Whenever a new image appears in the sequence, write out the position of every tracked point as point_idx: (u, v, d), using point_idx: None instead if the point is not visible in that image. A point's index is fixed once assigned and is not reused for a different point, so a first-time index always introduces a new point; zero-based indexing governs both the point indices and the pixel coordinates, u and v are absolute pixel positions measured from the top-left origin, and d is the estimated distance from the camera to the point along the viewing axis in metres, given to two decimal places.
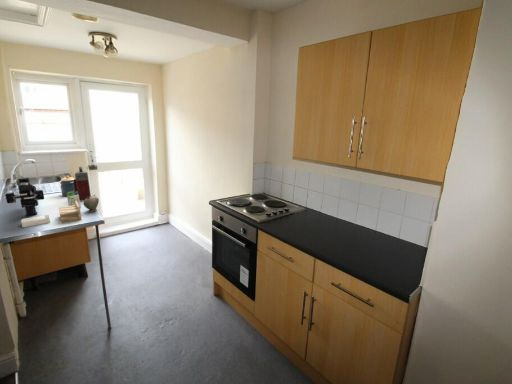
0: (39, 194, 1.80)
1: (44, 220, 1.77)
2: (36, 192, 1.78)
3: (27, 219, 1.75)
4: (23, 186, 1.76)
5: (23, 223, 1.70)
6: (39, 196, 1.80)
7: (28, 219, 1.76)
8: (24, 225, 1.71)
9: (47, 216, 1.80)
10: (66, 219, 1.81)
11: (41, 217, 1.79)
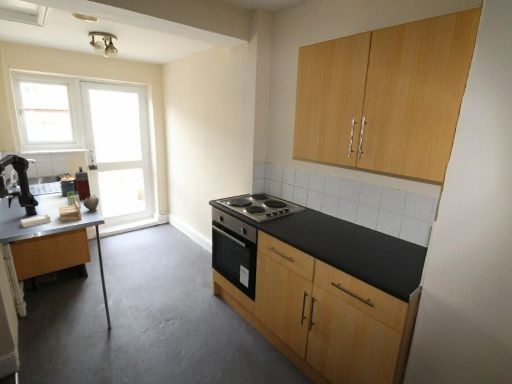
0: None
1: (45, 220, 1.77)
2: (10, 199, 1.65)
3: (27, 219, 1.75)
4: None
5: (24, 223, 1.70)
6: None
7: (27, 219, 1.75)
8: (25, 225, 1.70)
9: (47, 216, 1.81)
10: (66, 219, 1.81)
11: (41, 217, 1.79)
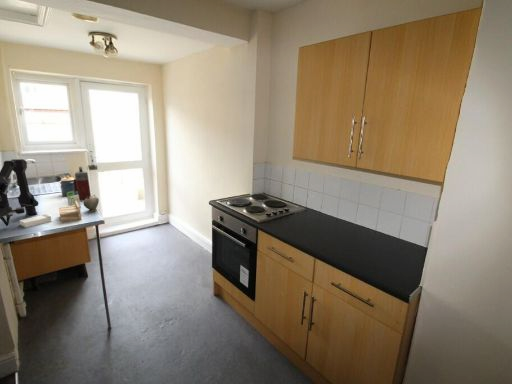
0: None
1: (46, 219, 1.79)
2: (8, 216, 1.67)
3: (27, 219, 1.74)
4: None
5: (26, 223, 1.70)
6: None
7: (27, 219, 1.75)
8: (27, 225, 1.70)
9: (46, 215, 1.82)
10: (66, 219, 1.81)
11: (40, 217, 1.80)
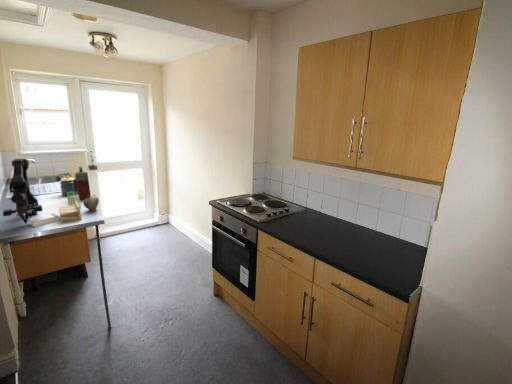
0: None
1: (54, 218, 1.80)
2: (27, 214, 1.72)
3: (35, 218, 1.76)
4: None
5: (35, 222, 1.71)
6: None
7: (36, 218, 1.76)
8: (36, 224, 1.72)
9: (54, 214, 1.83)
10: (66, 219, 1.81)
11: (49, 216, 1.81)
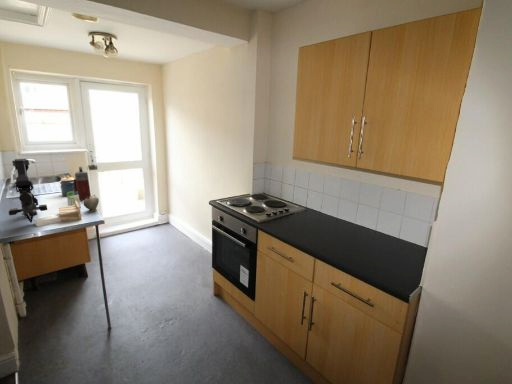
0: None
1: (58, 219, 1.79)
2: (32, 213, 1.73)
3: (40, 218, 1.76)
4: None
5: (38, 222, 1.72)
6: None
7: (40, 218, 1.77)
8: (39, 224, 1.72)
9: (59, 215, 1.83)
10: (66, 219, 1.81)
11: (53, 216, 1.81)
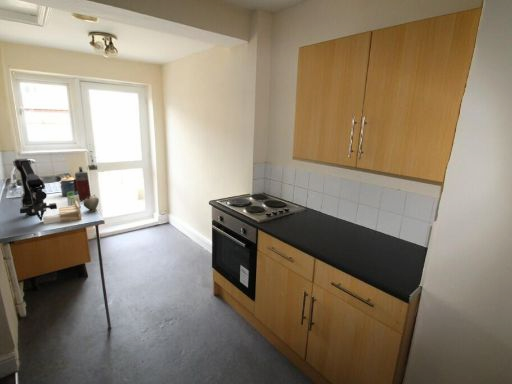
0: None
1: None
2: (42, 212, 1.76)
3: (48, 216, 1.80)
4: None
5: (45, 220, 1.75)
6: None
7: (49, 216, 1.81)
8: (46, 222, 1.76)
9: None
10: (66, 219, 1.81)
11: None
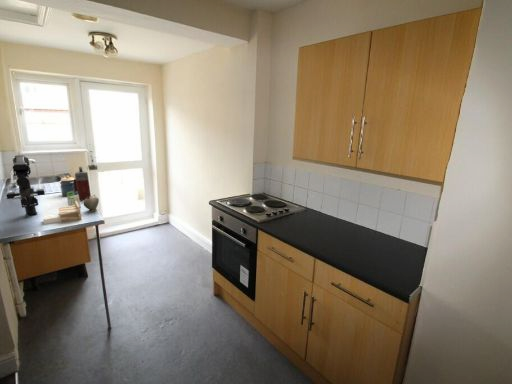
0: None
1: None
2: (29, 197, 1.75)
3: (48, 216, 1.80)
4: None
5: (45, 220, 1.76)
6: None
7: (49, 216, 1.81)
8: (46, 222, 1.76)
9: None
10: (66, 219, 1.81)
11: None
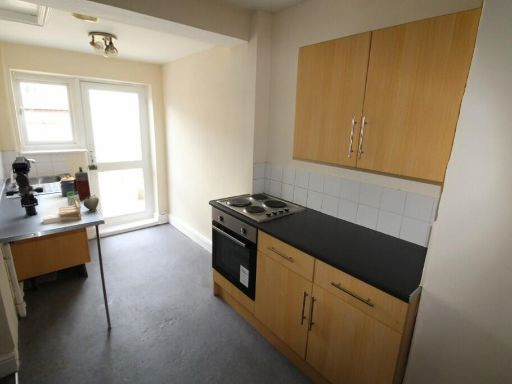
0: None
1: None
2: (28, 195, 1.78)
3: (48, 216, 1.80)
4: None
5: (45, 220, 1.76)
6: None
7: (49, 216, 1.81)
8: (46, 222, 1.76)
9: None
10: (66, 219, 1.81)
11: None
